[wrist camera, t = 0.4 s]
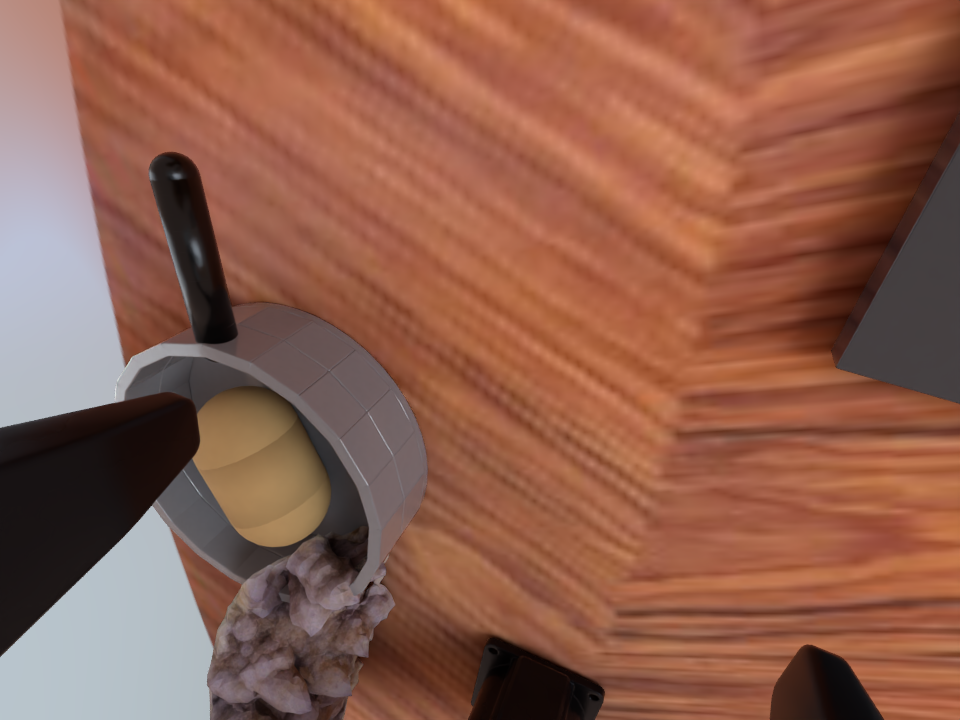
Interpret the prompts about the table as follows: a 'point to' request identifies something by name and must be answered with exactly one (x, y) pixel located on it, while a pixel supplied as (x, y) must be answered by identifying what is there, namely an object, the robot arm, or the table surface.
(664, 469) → the table surface
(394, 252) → the table surface
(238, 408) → the potato
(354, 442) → the pan
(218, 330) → the pan handle
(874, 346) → the slate board
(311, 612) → the mineral specimen
